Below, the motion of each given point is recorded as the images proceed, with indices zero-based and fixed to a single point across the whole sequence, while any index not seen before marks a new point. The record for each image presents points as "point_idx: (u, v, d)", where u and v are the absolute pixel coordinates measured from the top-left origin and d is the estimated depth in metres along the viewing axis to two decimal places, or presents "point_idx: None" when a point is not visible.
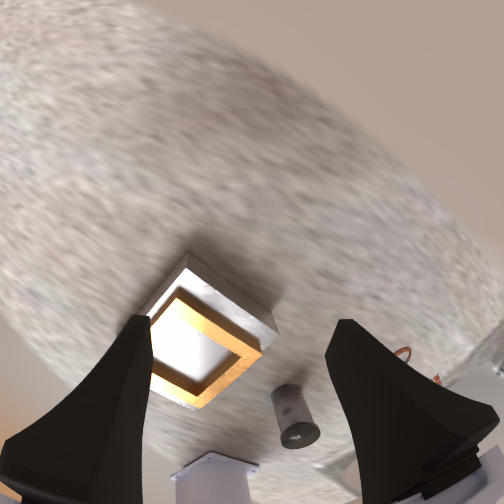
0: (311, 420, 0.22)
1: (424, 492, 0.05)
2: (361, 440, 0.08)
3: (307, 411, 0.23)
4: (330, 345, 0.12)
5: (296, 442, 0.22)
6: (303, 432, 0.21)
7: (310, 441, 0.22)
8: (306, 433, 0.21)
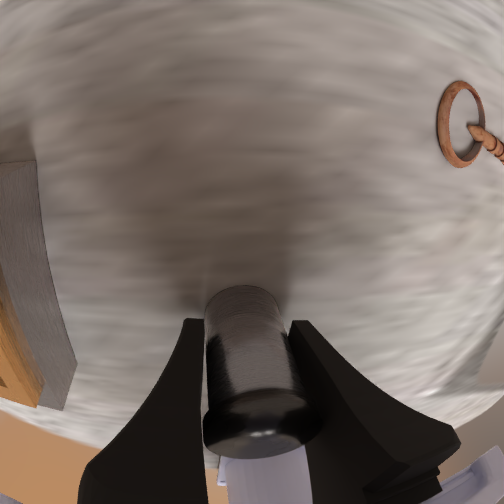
0: (271, 378, 0.08)
1: None
2: (311, 450, 0.08)
3: (261, 350, 0.09)
4: None
5: (261, 445, 0.08)
6: (245, 426, 0.07)
7: (304, 433, 0.07)
8: (261, 425, 0.07)
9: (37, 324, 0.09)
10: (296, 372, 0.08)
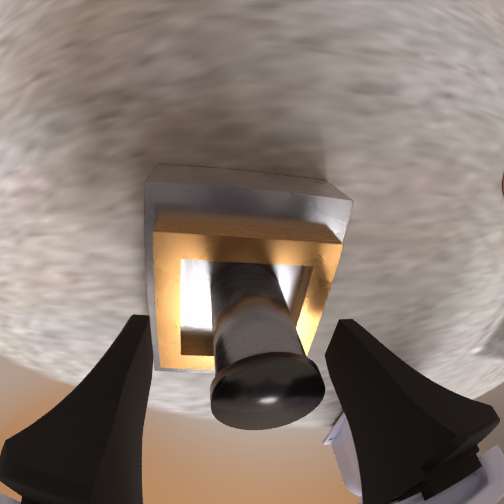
0: (274, 343, 0.08)
1: (424, 492, 0.05)
2: (361, 440, 0.08)
3: (264, 319, 0.09)
4: (330, 345, 0.12)
5: (267, 413, 0.08)
6: (251, 390, 0.08)
7: (307, 399, 0.08)
8: (265, 389, 0.08)
9: None
10: (298, 340, 0.09)
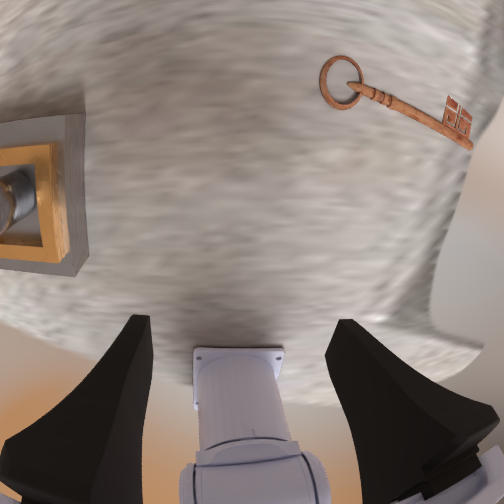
0: None
1: (424, 492, 0.05)
2: (361, 440, 0.08)
3: None
4: (330, 345, 0.12)
5: None
6: None
7: None
8: None
9: (72, 205, 0.16)
10: None
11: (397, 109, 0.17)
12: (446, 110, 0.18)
